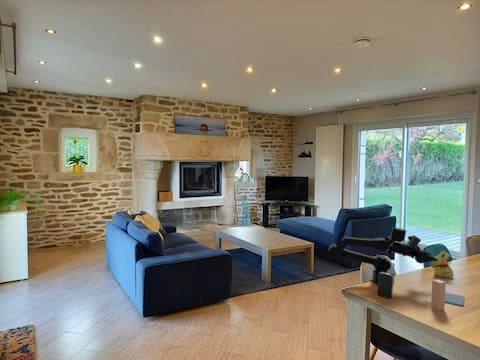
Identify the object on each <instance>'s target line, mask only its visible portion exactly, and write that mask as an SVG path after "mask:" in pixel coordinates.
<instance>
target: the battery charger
mask: <svg viewBox="0 0 480 360" xmlns="http://www.w3.org/2000/svg"><path fill="white" fill-rule="evenodd" d="M394 285H395V276H394V274H392V273H391V272H387V273H386V272H380V273H379V274H378V285H377V292H376V295H378V296H380V297H384V298H387V299H393V296H394V295H393V289H394Z"/></svg>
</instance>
